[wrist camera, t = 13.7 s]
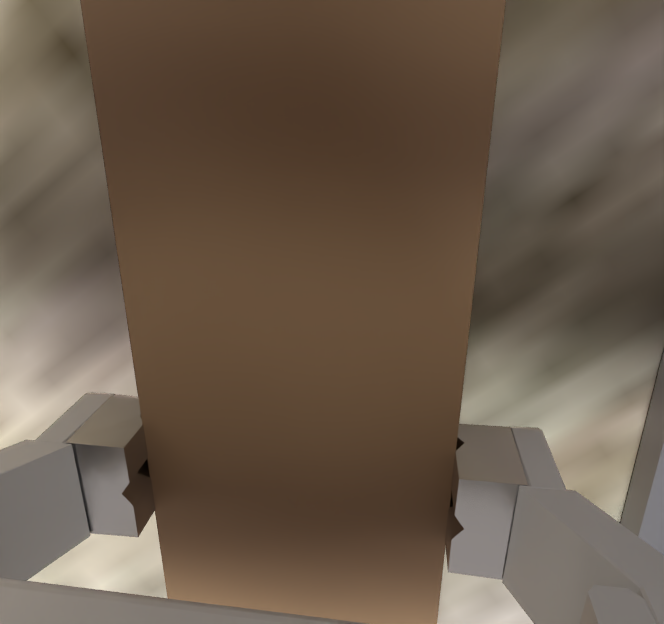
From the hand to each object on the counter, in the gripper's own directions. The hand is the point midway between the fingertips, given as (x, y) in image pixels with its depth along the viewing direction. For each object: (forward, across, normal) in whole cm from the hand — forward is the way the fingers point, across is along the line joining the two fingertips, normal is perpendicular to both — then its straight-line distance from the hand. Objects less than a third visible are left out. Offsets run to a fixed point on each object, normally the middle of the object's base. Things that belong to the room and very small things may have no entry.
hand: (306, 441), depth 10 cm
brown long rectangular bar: (+2, 0, +1) cm, 2 cm away
